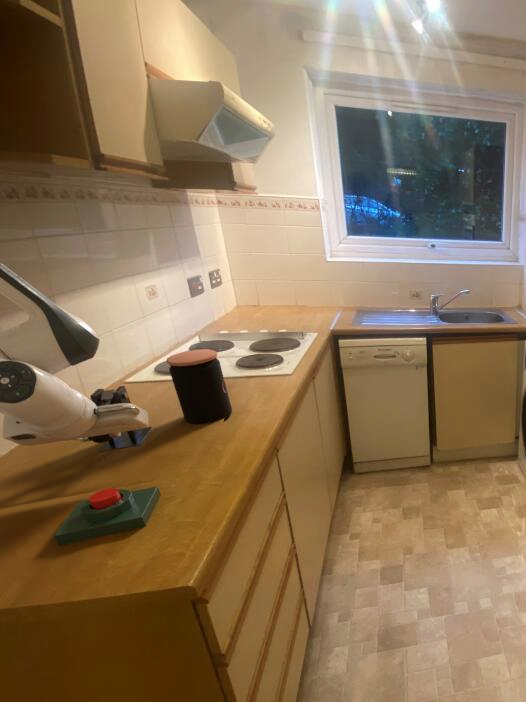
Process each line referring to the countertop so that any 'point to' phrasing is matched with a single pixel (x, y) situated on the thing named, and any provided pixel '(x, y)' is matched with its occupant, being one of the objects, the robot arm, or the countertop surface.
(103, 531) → the button box
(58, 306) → the robot arm
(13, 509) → the countertop surface
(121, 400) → the bracket
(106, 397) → the lever
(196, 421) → the coffee jar
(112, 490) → the button
